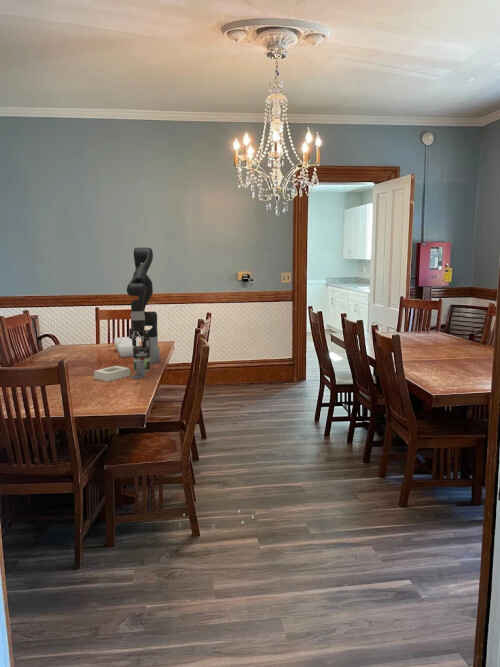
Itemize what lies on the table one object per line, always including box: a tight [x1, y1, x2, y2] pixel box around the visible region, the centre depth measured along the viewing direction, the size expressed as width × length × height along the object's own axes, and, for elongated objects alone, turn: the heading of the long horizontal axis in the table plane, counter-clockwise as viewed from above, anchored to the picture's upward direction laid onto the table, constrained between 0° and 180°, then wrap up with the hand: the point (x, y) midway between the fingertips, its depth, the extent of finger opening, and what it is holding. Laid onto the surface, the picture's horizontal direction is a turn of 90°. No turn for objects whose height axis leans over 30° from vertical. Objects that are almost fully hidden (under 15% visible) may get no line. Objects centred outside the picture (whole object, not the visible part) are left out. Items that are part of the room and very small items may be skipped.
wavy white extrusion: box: [113, 336, 141, 358], centre depth 361 cm, size 35×16×11 cm, turn 18°
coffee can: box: [132, 345, 152, 373], centre depth 311 cm, size 10×10×14 cm
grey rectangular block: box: [130, 361, 146, 380], centre depth 292 cm, size 6×4×9 cm, turn 142°
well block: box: [93, 365, 131, 382], centre depth 294 cm, size 16×12×4 cm
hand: (139, 347), depth 292 cm, fingers open, 8 cm apart
